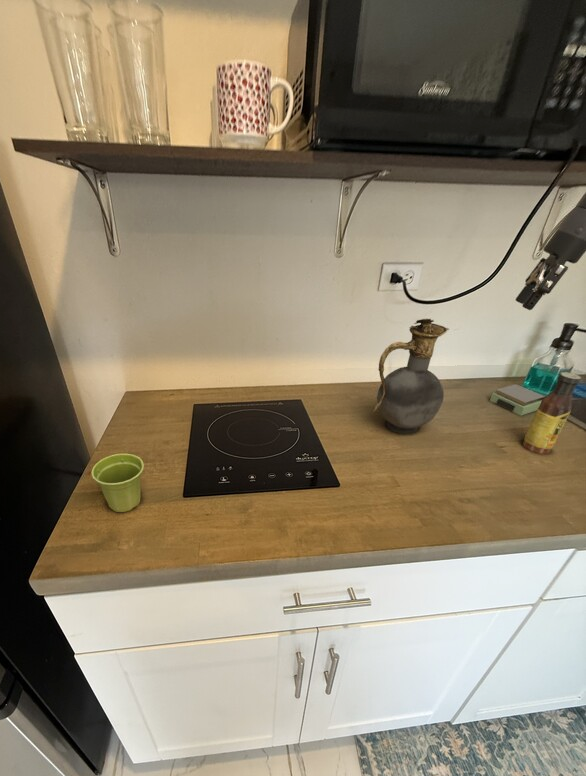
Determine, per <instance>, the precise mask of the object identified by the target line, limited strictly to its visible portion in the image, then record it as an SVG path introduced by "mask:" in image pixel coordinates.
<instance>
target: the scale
mask: <svg viewBox="0 0 586 776" xmlns="http://www.w3.org/2000/svg"><path fill="white" fill-rule="evenodd" d="M541 401H542V400H540V401H537V402H534V403H531V404H527V405H522V404H520V403H518V402H515V401H513V400H511V399H509V398H506V397H504V396H502V395H500V394H498V393H495V392H492V394H491V397H490V399H489V402H491V403H493V404H496V405H498V406H499V407H502V408H504V409H506V410H507V411H510V412H512V413H515V414H516V415H518V416H523V415H527V414H530V413H533V412H536V411H537V409H538V408H539V406H540V404H541Z"/></svg>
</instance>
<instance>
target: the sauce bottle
mask: <svg viewBox="0 0 586 776" xmlns="http://www.w3.org/2000/svg"><path fill="white" fill-rule="evenodd" d="M581 379H582V377H581V376H580V375H579V374H576V373H572V372H567V371H562V372H560V373H559V375H558V377H557V381H556V383H555V385H554V387H553V389H552V391H551V392H549V393H548V394H546V395H544V396H545V397H544V398H543V400H542V401H541V404H540V406H539V408H538V409H537V410H536V411H535V413H534V416H533V418H532V420H531V422H530V424H529V427H528V429H527V430H526V433H525V436H524V440H523V441H522V446H523V447H524V448H525V449H526V450H528V451H530V452H533V453H536V454H541V455H546V454H549V453H550V451H551V450H552V449H553V447H554V446H555V444H556V442H557V440H558V438H559V436H560V434H561V432H562V430H563V428H564V426H565V424H566V422H567V420H568V418H569V416H570V414H571V412H572V410H573V407H572V406H573V405H572V404H573V394H574V392H575V390H576V387H577V385H578V384H580V382H581Z"/></svg>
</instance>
